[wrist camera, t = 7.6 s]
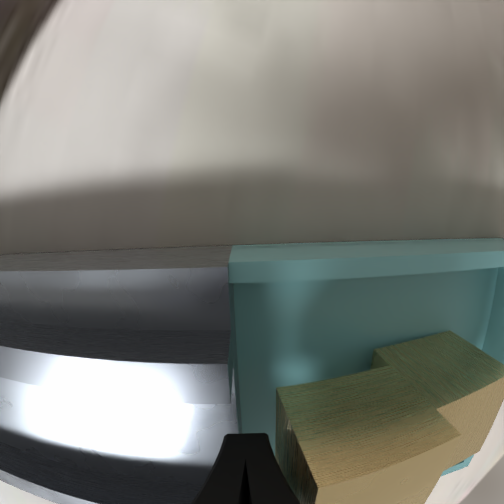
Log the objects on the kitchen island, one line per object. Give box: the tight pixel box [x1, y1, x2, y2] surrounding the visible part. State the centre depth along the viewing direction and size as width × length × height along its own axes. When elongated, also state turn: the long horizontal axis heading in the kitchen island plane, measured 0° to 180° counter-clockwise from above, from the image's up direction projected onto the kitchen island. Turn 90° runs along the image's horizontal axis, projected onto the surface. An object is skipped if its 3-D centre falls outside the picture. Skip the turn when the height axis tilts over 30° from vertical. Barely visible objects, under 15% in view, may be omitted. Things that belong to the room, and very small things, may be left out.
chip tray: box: [228, 238, 504, 476], centre depth 11 cm, size 12×12×2 cm
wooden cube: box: [275, 365, 462, 504], centre depth 8 cm, size 4×4×4 cm
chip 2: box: [370, 330, 504, 471], centre depth 10 cm, size 4×4×4 cm
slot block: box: [0, 245, 242, 504], centre depth 10 cm, size 12×20×5 cm, turn 92°
